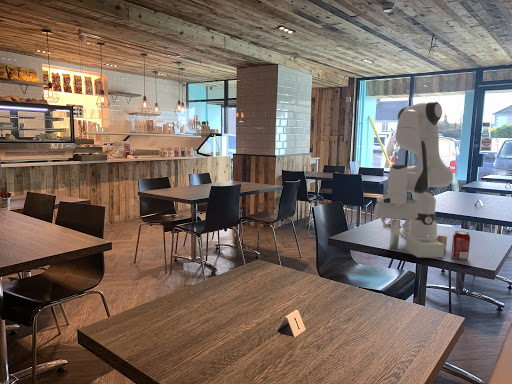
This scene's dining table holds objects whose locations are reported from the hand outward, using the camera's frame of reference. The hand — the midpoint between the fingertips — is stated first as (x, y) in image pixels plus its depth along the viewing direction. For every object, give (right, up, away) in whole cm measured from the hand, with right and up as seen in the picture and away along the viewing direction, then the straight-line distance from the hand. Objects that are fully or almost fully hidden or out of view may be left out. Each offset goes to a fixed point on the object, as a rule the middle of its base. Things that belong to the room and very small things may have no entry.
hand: (394, 227), depth 188 cm
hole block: (+12, -11, -5) cm, 17 cm away
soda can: (+25, -13, -12) cm, 30 cm away
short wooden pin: (+22, -11, 0) cm, 25 cm away
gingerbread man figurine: (+17, -4, +52) cm, 55 cm away
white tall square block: (0, -10, +2) cm, 10 cm away
